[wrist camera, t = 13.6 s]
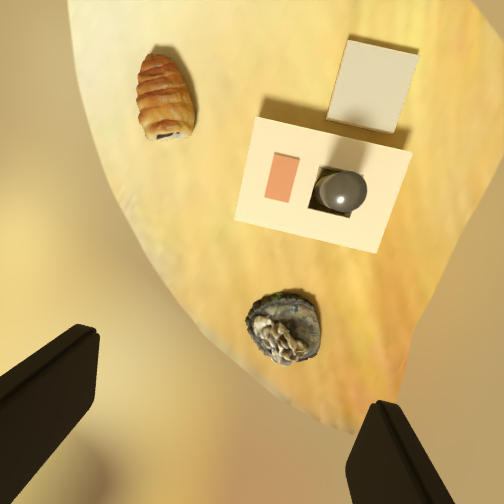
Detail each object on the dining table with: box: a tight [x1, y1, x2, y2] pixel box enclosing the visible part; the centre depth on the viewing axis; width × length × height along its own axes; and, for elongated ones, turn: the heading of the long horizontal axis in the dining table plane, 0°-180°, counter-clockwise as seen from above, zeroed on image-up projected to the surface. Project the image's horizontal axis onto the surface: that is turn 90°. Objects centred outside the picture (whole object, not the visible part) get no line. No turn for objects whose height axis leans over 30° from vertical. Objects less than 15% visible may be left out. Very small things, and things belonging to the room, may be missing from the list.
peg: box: [314, 171, 367, 212], centre depth 30 cm, size 4×4×8 cm
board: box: [234, 117, 413, 254], centre depth 32 cm, size 12×18×3 cm, turn 77°
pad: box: [325, 40, 420, 134], centre depth 30 cm, size 8×8×1 cm
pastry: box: [136, 54, 195, 141], centre depth 31 cm, size 9×7×4 cm
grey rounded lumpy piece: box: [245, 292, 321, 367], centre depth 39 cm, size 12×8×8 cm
